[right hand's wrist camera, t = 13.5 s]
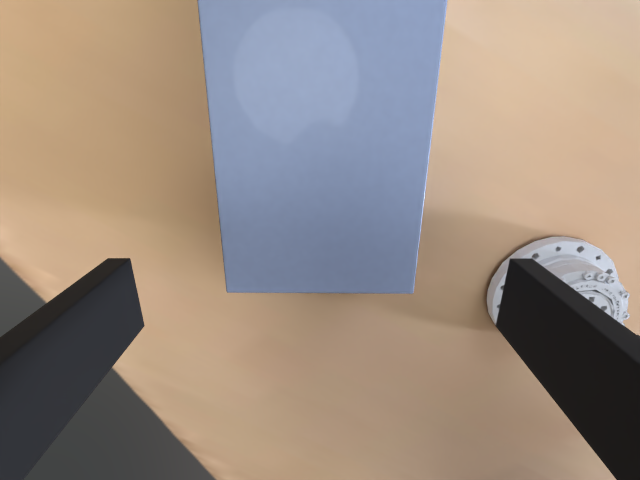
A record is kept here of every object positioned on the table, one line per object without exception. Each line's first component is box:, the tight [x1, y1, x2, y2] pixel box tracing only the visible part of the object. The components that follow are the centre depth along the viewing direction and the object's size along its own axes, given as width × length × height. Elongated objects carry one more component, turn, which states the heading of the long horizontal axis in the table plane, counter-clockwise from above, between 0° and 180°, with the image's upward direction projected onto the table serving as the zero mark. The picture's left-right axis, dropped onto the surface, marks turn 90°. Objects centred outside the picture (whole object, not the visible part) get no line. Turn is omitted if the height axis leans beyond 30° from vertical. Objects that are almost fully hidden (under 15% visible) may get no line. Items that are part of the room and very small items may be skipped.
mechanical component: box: [487, 236, 630, 326], centre depth 28 cm, size 10×4×10 cm
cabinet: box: [198, 0, 447, 294], centre depth 21 cm, size 20×11×9 cm, turn 0°
